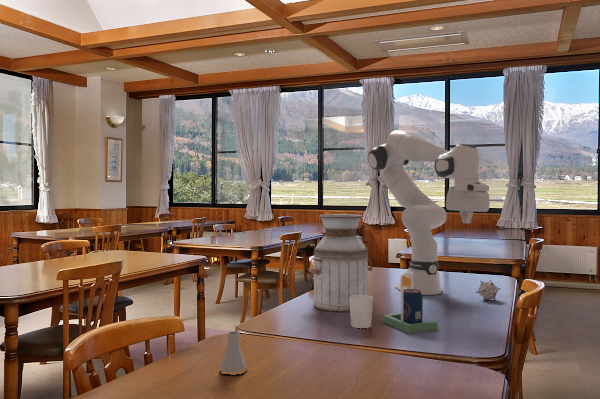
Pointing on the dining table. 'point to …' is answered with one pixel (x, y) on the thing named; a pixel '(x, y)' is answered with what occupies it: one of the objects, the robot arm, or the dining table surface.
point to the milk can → (339, 264)
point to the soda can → (412, 306)
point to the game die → (488, 290)
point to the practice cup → (397, 319)
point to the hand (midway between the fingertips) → (466, 223)
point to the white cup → (361, 310)
